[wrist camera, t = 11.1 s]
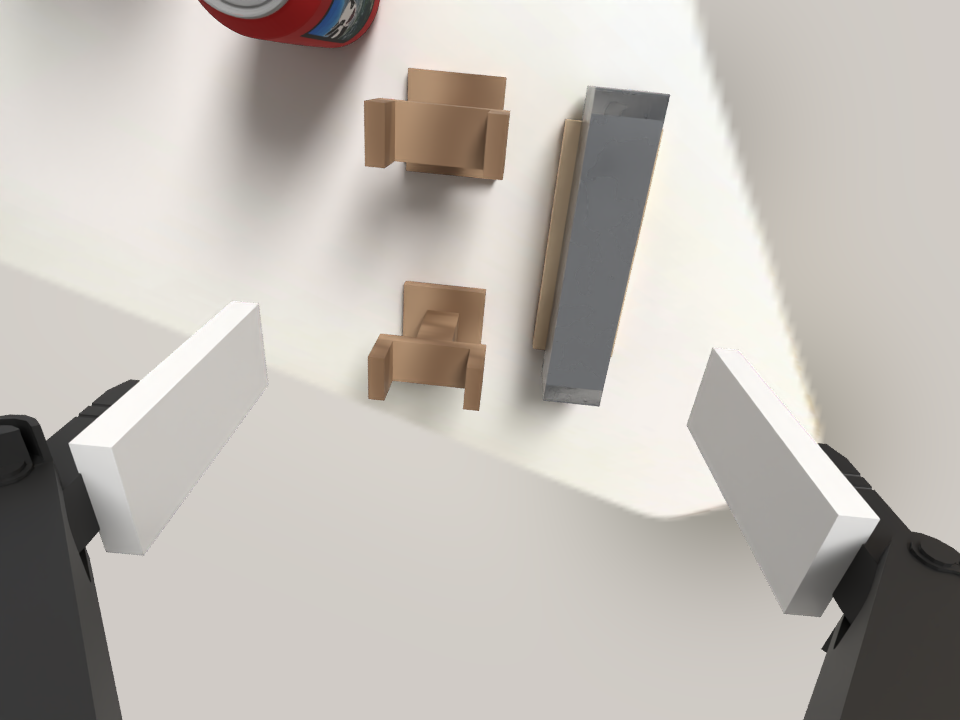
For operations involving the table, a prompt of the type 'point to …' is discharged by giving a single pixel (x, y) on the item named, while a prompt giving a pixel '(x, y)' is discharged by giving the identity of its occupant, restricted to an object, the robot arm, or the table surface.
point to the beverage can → (296, 19)
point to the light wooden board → (562, 231)
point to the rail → (600, 238)
